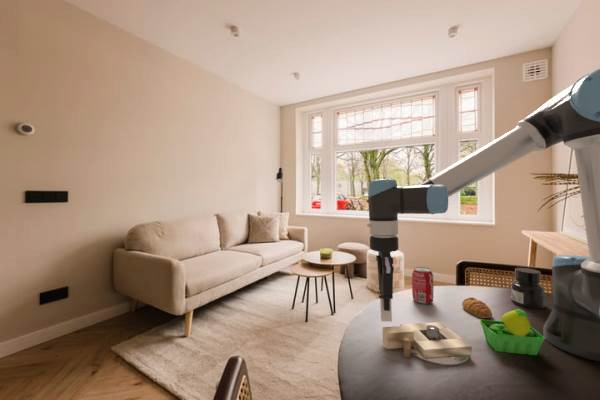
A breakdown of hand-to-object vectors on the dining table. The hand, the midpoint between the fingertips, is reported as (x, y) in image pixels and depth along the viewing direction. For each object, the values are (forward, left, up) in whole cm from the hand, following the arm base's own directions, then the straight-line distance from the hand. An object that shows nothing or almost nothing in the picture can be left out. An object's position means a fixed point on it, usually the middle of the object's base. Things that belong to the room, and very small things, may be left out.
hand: (386, 320), depth 73 cm
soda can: (+4, -31, -5) cm, 32 cm away
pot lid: (-10, -5, -5) cm, 13 cm away
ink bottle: (-22, -55, -5) cm, 60 cm away
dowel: (-8, +4, -5) cm, 10 cm away
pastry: (-12, -36, -5) cm, 38 cm away
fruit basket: (-24, -18, -5) cm, 31 cm away
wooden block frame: (-8, -2, -4) cm, 9 cm away
